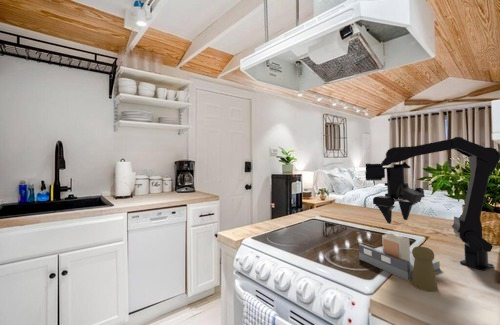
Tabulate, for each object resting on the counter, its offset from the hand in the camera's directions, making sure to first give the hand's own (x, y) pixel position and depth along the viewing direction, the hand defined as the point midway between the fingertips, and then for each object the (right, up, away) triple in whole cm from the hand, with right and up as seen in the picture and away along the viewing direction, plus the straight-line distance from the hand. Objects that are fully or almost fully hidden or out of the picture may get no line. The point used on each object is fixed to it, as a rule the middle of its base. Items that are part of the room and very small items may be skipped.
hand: (397, 221), depth 89 cm
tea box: (-6, -11, -10) cm, 16 cm away
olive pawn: (-5, -14, -21) cm, 26 cm away
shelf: (-4, -13, -6) cm, 15 cm away
